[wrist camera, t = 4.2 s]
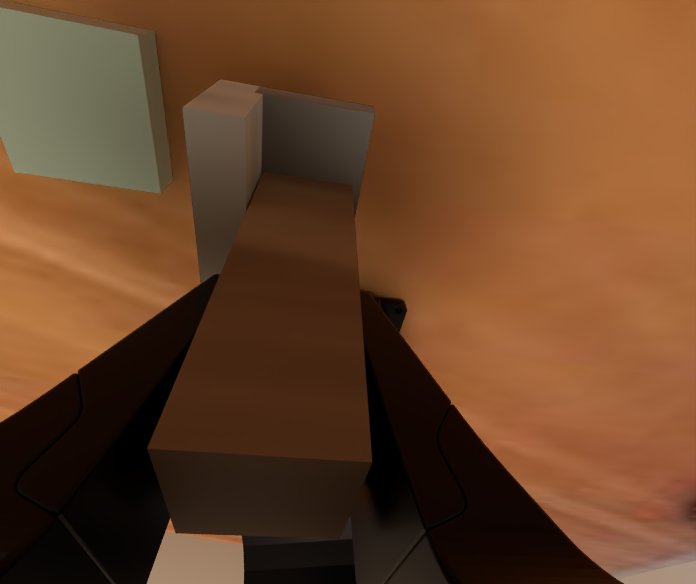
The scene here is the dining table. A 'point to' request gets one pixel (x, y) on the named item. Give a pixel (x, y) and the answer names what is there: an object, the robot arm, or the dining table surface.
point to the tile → (82, 99)
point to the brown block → (271, 320)
